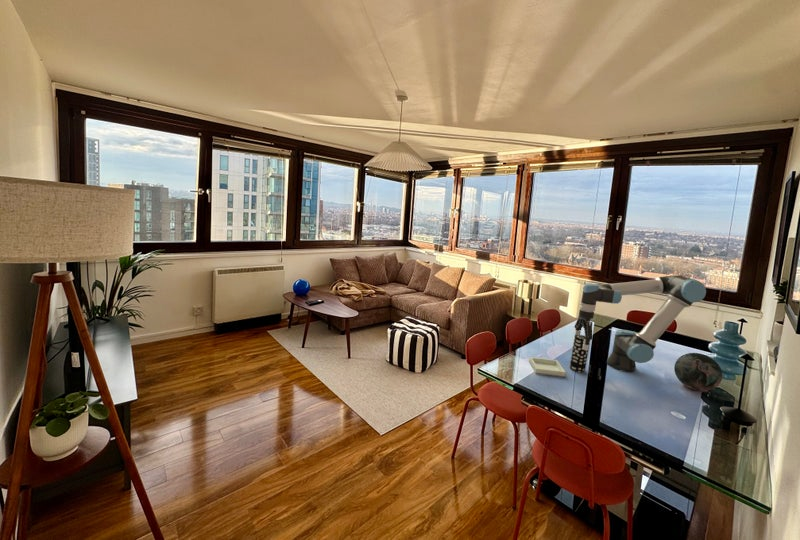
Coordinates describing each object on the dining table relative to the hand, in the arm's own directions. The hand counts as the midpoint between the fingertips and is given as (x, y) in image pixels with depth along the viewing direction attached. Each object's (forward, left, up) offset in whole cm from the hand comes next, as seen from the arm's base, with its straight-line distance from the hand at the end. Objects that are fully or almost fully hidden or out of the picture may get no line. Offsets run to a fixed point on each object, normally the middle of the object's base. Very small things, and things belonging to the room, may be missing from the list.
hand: (580, 345), depth 204 cm
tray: (+19, +5, -15) cm, 25 cm away
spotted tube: (0, 0, -15) cm, 15 cm away
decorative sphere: (-59, +8, -15) cm, 62 cm away
